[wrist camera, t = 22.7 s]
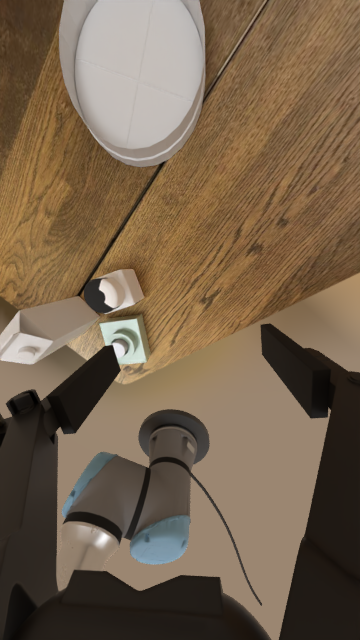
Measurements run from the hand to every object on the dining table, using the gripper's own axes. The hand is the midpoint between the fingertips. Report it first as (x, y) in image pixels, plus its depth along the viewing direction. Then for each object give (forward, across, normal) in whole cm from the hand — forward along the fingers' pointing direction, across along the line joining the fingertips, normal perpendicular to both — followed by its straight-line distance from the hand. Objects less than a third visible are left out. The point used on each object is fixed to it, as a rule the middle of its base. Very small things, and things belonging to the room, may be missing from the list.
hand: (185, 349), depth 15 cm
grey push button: (+20, -17, -7) cm, 28 cm away
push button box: (+26, -17, -7) cm, 32 cm away
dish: (+26, -3, +37) cm, 46 cm away
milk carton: (+26, -28, 0) cm, 38 cm away
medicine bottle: (+26, -15, +5) cm, 30 cm away
